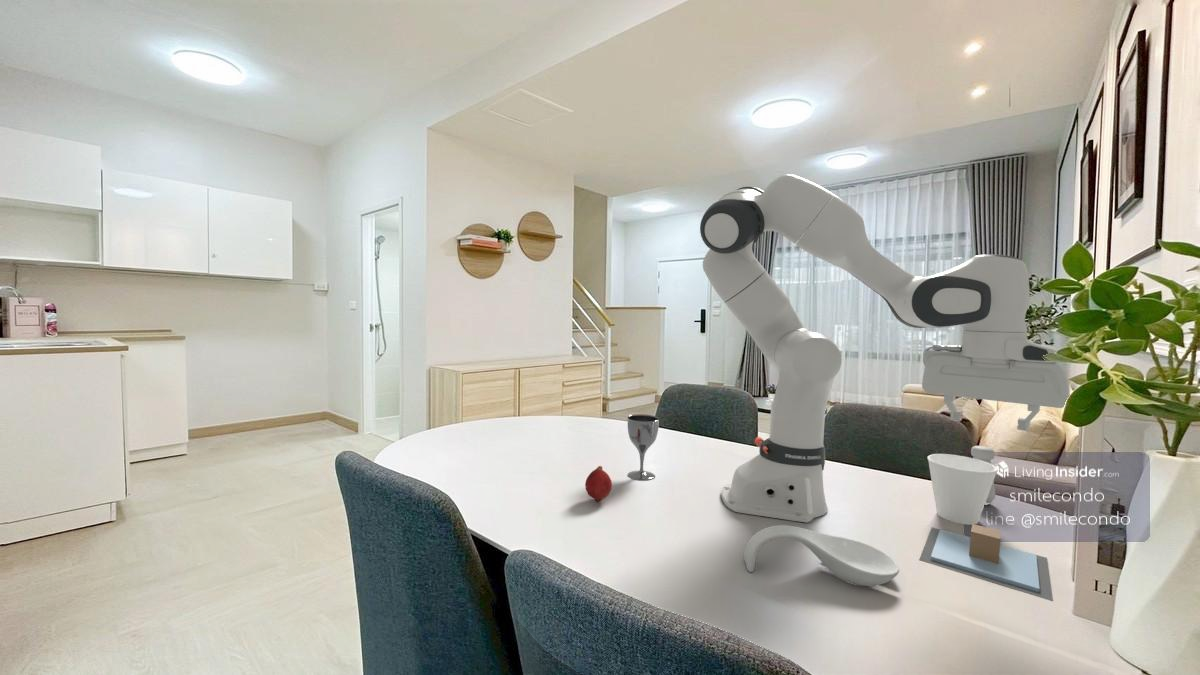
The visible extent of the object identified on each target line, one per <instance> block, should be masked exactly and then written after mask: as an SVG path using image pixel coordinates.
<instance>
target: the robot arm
mask: <svg viewBox="0 0 1200 675" xmlns="http://www.w3.org/2000/svg"><path fill="white" fill-rule="evenodd" d="M699 232H700V237H701V239H702V241H703V243H704V244H705V246H707V247H706V248H708V249H709V250H707V252H706V253H705V255H704V257H703V260H702V269H703V272H704V273H705V276H706V277H707V278H708V281H709V283H710V284H711V286H712V287H713V289H714V291H715V292H716V293H717V295H718V296H719V297H720V299H721V300H722V301H723V302H724V304H725V306H726V307H727V308H728V309H729V310H730V311H731V313H732V314H733V315H734V316H735V317H736V319H737V320H738V321H739V322H740V324H741V325H742V326H743V328H744V329H745V330H746V331H747V333H748V334H749V336H750V337H751V339H752V340H753V341H754V344H756V346H757V347H758V349H759V350H760V352H761V353H762V354H763V356H764V358H766V359H767V361H768V362H769V364H770V366H772V367H773V369H774V370H775V371H777V372H778V380H777V385H776V389H775V393H774V398H773V400H772V402H771V404H770V421H769V437H768V438H766V439H763V438H762V437H760V436H756V437H755V439H754V444H755V445H756V447H757V448H759V451H758V452H759V454H757V455H755V456H754V457H753V458H751V459H750V460H747V461H746V462H744V463H742V464H741V465H738V467H737V468H736V469H735V470H734V473H733V477H732V481H731V484H725V485H724V486H723V487H722V488H721V493H720V496H721V500H722V502H723V504H724V505H725V506H726V507H728V509H730V510H731V511H733V512H736V513H739V514H740V513H741V514H747V515H751V516H759V517H760V516H761V517H766V518H767V517H768V518H774V519H781V520H786V521H793V522H800V523H801V522H802V523H811V521H812V520H813V519H815V518H818V517H822V516H824V515H826V514H827V513H828V511H829V510H828V504H827V500H826V496H825V490H824V489H825V488H824V479H823V477H824V476H823V475H824V473H823V471H825V464H826V445H824V437H825V436H824V434H825V419H826V417H825V416H826V409H827V404H828V400H829V397H830V393H831V391H832V386H833V383H834V380H835V377H836V376H837V375H838V373H839V371H840V369H841V366H842V355H841V352H840V349H839V347H838V346H837V345H836V344H835V343H834V342H833V341H832V340H831V339H830V338H829V337H828V336H826V335H824V334H822V333H820V332H816V331H810V330H809V329H808V328H807V327H806V326H805V325H804V324H803V322H802V321H801V319H800V318H799V316H798V314H797V313H796V311H795V309H794V307H793V306H792V304H791V301H790V299H789V297H788V296H787V295H786V293H785V292H784V291H783V289H781V287H780V286H779V285H778V284H777V282H776V281H775V280H774V279H773V277H772V276H771V275H770V274H769V273H768V271H767V270H766V268H764V266H763V265H762V264H761V263H760V262H759V260H758V259H757V257H756V256H755V254H754V252H753V244H755V243H757V241H758V240H759V238H760V237H761V236H763V233H764V232H775V233H778V234H780V235H781V236H783V237H785V238H787V239H788V240H789V241H790V242H791V243H793V244H795V245H796V246H798V247H799V248H801V249H802V250H804V251H805V252H807V253H809V254H810V255H813V256H815V257H816V258H818V259H821V260H823V261H825V262H827V263H829V264H831V265H832V266H836V267H837V268H840V269H842V270H844V271H846V272H847V273H849V274H850V275H852V276H853V277H854V278H856V279H857V280H858V281H860V282H861V283H863V284H864V285H866V287H867V288H870V290H872V291H873V292H875V293H876V294H878V295H879V296H880V297H881V298H882V299H883V301H885V302H886V304H887V306H888V307H889V309H890V310H891V313H892V314H893V316H894V317H895V318H896V320H898V321H899V322H900V323H902V324H903V325H905V326H907V327H910V328H913V329H926V328H931V329H945V328H950V327H954V326H960V325H961V327H962V332H961V333H962V334H961V345H942V344H933V345H932V346H929V347H927V348H926V349H925V350H924V351H923V353H922V363H923V366H924V371H923V375H922V382H921V388H922V389H923V391H924V392H925V393H926V394H931V395H941V396H942V395H943V402H944V403H945V405H946V407H947V409H948V410H949V411H950V415H949V416H950V421H955V422H961V421H962V420H963V416H962V415H963V410H958V409H957V407H956V406H955V403H954V401H956V398H957V397H959V398H960V397H961V398H966V399H977V400H986V401H995V402H1002V403H1003V402H1004V403H1012V404H1019V405H1020V404H1021V405H1027V411H1028V412H1029V414H1028V415H1027V416H1026V417H1025V418H1018V419H1017V426H1016V427H1017V428H1016V429H1017V430H1020V431H1026V432H1030V430H1031V429H1030V428H1031V421H1032V420H1033V418H1035V417H1036V415H1038V414H1039V412H1040V410H1041V407H1047V408H1048V407H1049V408H1057V409H1062V408H1064V405H1065V402H1066V400H1067V398H1068V397H1069V396H1070V395H1071V394H1070V393H1071V391H1070V390H1071V389H1070V381H1068V380H1069V375H1068V371H1067V369H1066V367H1065V366H1064V365H1063V364H1062V363H1061V362H1059V361H1057V362H1052V361H1047V360H1044V359H1043V358H1042V356H1043V355H1046V354H1049V353H1055V352H1057V351H1058V350H1059V349H1060V348H1058V347H1057V346H1053V345H1049V344H1045V343H1042V342H1040V341H1037V340H1036V341H1035V340H1030V339H1028V328H1027V324H1026V313H1027V311H1028V309H1029V305H1030V280H1029V279H1030V278H1029V272H1028V267H1027V265H1026V263H1025V262H1024V261H1023V260H1021V259H1020V258H1017V257H1015V256H1012V255H1011V256H1010V255H1005V254H996V253H995V254H990V253H989V254H988V253H987V254H984V253H983V254H978V255H974V256H972V257H971V258H970V259H968V260H967V261H965V262H963V263H961V264H960V265H957V266H955V267H952V268H950V269H947V270H945V271H943V272H942V271H941V272H938V273H936V274H932V275H929V276H927V275H926V276H919V275H914V274H911V273H909V272H907V271H905V270H904V269H903V268H901V267H900V266H898V265H897V264H896V263H894V262H893V261H892V260H890V259H889V258H887V257H886V256H885V255H883V254H882V253H881V252H879V251H878V250H876V248H874V246H873V245H872V244H871V242H870V241H869V239H868V236H867V232H866V226H865V221H864V220H863V217H862V216H861V215H860V214H859V213H858V211H856V210H855V209H854V208H853V207H852V206H851V205H850V204H848V203H847V202H846V201H844V200H843V199H842V198H841V197H839V196H838V195H836V194H834V193H833V192H831V191H829V190H828V189H826V188H824V187H822V186H821V185H819V184H816V183H815V182H812V181H810V180H808V179H805V178H803V177H800V176H797V175H795V174H791V173H790V174H789V173H788V174H783V175H780V176H779V177H777V178H775V179H773V180H772V181H771V182H770V183H769V184H768V185H767V186H766V188H765V189H764V190H762V189H761V188H758V187H755V186H742V187H739V188H737V189H735V190H733V191H730V192H728V193H725V194H724V195H723V196H722V197H720V198H719V199H718V201H716V202H714V203H712V204H711V205H710V206H709V207H708V208H707V209H706V210H705V212H704V214H703V216H702V218H701V221H700V225H699ZM1070 397H1071V396H1070Z"/></svg>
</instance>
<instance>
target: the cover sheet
mask: <svg viewBox="0 0 1200 675" xmlns="http://www.w3.org/2000/svg"><path fill="white" fill-rule="evenodd" d="M939 529H940V528H939ZM1001 538H1002V530H998V529H995V528H990V527H986V526H983V525H982V526H981V525H978V524H972V525H971V529H970V536H968V535H963V534H961V533H956V532H952V531H948V530H944V529H940V531H939V534H938V537H937V540H936V543H935V546H934V549H933V552H932V555H931V560H933V561H937V562H940V563H943V564H947V565H950V566H953V567H957V568H960V569H963V570H967V571H970V572H973V573H976V574H980V575H983V576H986V577H990V578H993V579H996V580H1000V581H1003V582H1006V583H1010V584H1013V585H1016V586H1019V587H1023V588H1026V589H1029V590H1033V591H1036V592H1039V589H1040V588H1039V578H1038V567H1037V557H1036V555H1037V554H1034V553H1031V552H1028V551H1023V550H1020V549H1017V548H1013V547H1010V546H1009V547H1008V546H1005V545H1001V540H1002V539H1001Z"/></svg>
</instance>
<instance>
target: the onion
mask: <svg viewBox="0 0 1200 675" xmlns="http://www.w3.org/2000/svg"><path fill="white" fill-rule="evenodd" d="M612 481H613V480H612V479H611V477H610V475H609V474H608V473H607V472H606V471H604V469H603V466H602V465H599V466H597V467H596V468H595V469H594V470H592V471H591V472H590V473H589V474H588V476H587V477H586V480H585V484H584V487H585V491H586V493H587V495H588V496H589V497H590V498H592V499H593V500H595V501H596V502H599V503H600V502H601V501H602V500H604V499H606V497H607V496H609V495H610V492H612V491H611V490H612V488H613V484H612V483H613V482H612Z"/></svg>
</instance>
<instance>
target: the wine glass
mask: <svg viewBox="0 0 1200 675" xmlns="http://www.w3.org/2000/svg"><path fill="white" fill-rule="evenodd" d="M659 425H660V419H659V417H658V416H656V415H651V414H644V413H641V414H640V413H639V414H630V415H628V416H627V433H628V438H629V440H630V442H631V443H632V445H634V447H635V448H636V449H637V452H638V454H639V462H640V463H639V467H640V468H639V469H638V470H632V471H630V472H627V477H628V478H630V479H632V480H636V481H640V482H641V481H644V482H645V481H646V482H647V481H651V480H654V479H655V478H656V474H654V473H653V472H651V471H647V470H644V462H645V461H644V460H645V456H646V453H647V451H648V449H649V448H651V446H652V445H653V444H654V443H655V441H656V440H657V438H658V434H659V427H660V426H659Z"/></svg>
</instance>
